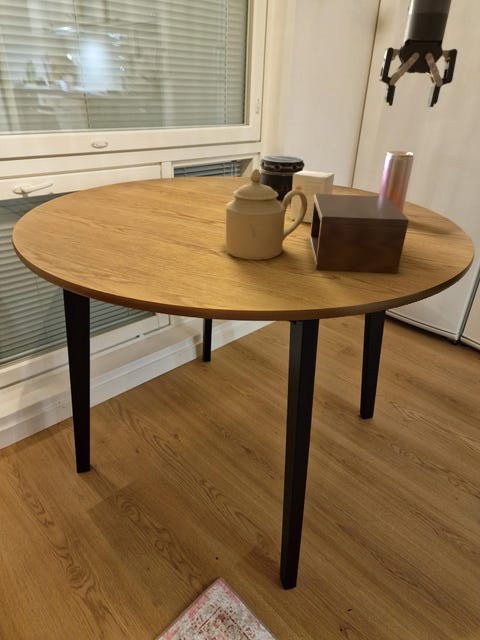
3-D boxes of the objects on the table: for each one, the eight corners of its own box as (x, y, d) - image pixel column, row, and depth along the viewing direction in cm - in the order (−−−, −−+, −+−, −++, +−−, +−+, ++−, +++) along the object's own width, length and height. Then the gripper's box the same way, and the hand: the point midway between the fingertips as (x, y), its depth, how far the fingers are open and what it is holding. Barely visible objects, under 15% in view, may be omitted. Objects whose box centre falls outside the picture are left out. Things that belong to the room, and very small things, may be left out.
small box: (329, 219, 101) (335, 173, 96) (321, 225, 97) (326, 177, 92) (298, 214, 105) (302, 169, 99) (289, 219, 100) (292, 173, 95)
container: (304, 191, 126) (307, 156, 121) (298, 201, 115) (302, 163, 110) (262, 188, 129) (264, 153, 124) (253, 198, 118) (254, 160, 113)
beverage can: (370, 218, 102) (381, 152, 95) (382, 214, 106) (394, 150, 99) (393, 224, 99) (406, 155, 91) (405, 219, 102) (419, 153, 95)
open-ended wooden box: (378, 242, 87) (386, 196, 82) (397, 273, 73) (409, 219, 68) (309, 239, 88) (314, 193, 83) (315, 269, 74) (322, 216, 69)
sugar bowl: (265, 233, 91) (269, 159, 84) (306, 246, 84) (314, 167, 77) (213, 248, 82) (212, 167, 75) (253, 265, 75) (257, 177, 68)
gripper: (395, 9, 79) (379, 106, 87) (473, 10, 79) (450, 108, 87) (386, 15, 86) (372, 104, 94) (458, 16, 85) (438, 106, 93)
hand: (409, 106), depth 90 cm, fingers open, 8 cm apart
